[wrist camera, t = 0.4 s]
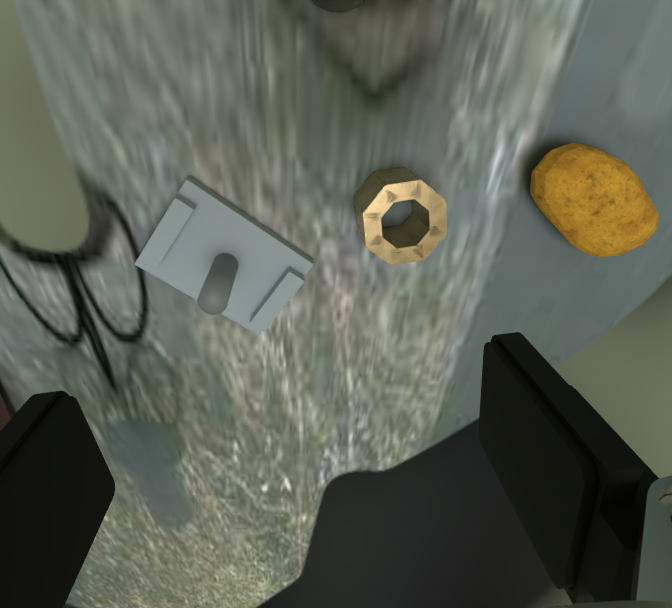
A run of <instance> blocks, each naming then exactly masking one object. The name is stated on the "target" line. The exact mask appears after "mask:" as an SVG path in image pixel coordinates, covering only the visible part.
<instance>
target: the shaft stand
mask: <svg viewBox="0 0 672 608" xmlns="http://www.w3.org/2000/svg"><path fill="white" fill-rule="evenodd" d="M135 265H136V266H138V267H140V268H142V269H143V270H145V271H147V272H149V273H150V274H152V275H154V276H156V277H157V278H159V279H161V280H163V281H164V282H166V283H168V284H170V285H171V286H173V287H175V288H177V289H179V290H180V291H182V292H184V293H186V294H187V295H189V296H191V297H193V298H194V299H196V300H197V302H198V305H199V307H200V309H201V310H202V311H204V312H205V313H207V314H211V315H216V314H220V313H221V314H222V315H224V316H226V317H228V318H229V319H231V320H233V321H235V322H236V323H238V324H240V325H242V326H243V327H245V328H247V329H249V330H251V331H252V332H254V333H256V334H258V335H259V334H260V332H261V331H264V332H265V331H266V330H267V328H268V327H269V326H270V324H271V323H272V322H273V321H274V319H275V318H276V317H277V316H278V314H279V313H280V312H281V310H282V309H283V308H284V307H285V305H286V304H287V303H288V302H289V300H290V299H291V298H292V297H293V295H294V294H295V293H296V291H297V290H298V289H299V288H300V286H301V285H302V284H303V283H304V276H305V275H306V274H307V272H308V271H309V270H310V269H311V267H312V266H313V265H314V263H313V259H312V258H311V257H309V256H308V255H306V254H305V253H304V252H302V251H301V250H299V249H298V248H296V247H295V246H293V245H292V244H290V243H289V242H287V241H286V240H284V239H283V238H281V237H280V236H278V235H277V234H275V233H274V232H272V231H271V230H269V229H268V228H267V227H265V226H264V225H262V224H261V223H259V222H258V221H256V220H255V219H253V218H252V217H250V216H249V215H247V214H246V213H244V212H243V211H241V210H240V209H238V208H237V207H235V206H234V205H232V204H231V203H229V202H228V201H227V200H225V199H224V198H222V197H221V196H219V195H218V194H216V193H215V192H213V191H212V190H210V189H209V188H207V187H206V186H204V185H203V184H201V183H200V182H198V181H197V180H195V179H194V178H192V177H191V176H189V177H188V178H187V179H186V181H185V182H184V184H183V186H182V187H181V189H180V190H179V192H178V194H177V195H176V197H175V199H174V200H173V202H172V204H171V205H170V207H169V208H168V210H167V212H166V213H165V215H164V217H163V218H162V220H161V222H160V223H159V225H158V226H157V228H156V230H155V231H154V233H153V235H152V236H151V238H150V240H149V241H148V243H147V244H146V246H145V248H144V249H143V251H142V253H141V254H140V256H139V258H138V259H137V261H136V263H135Z"/></svg>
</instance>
